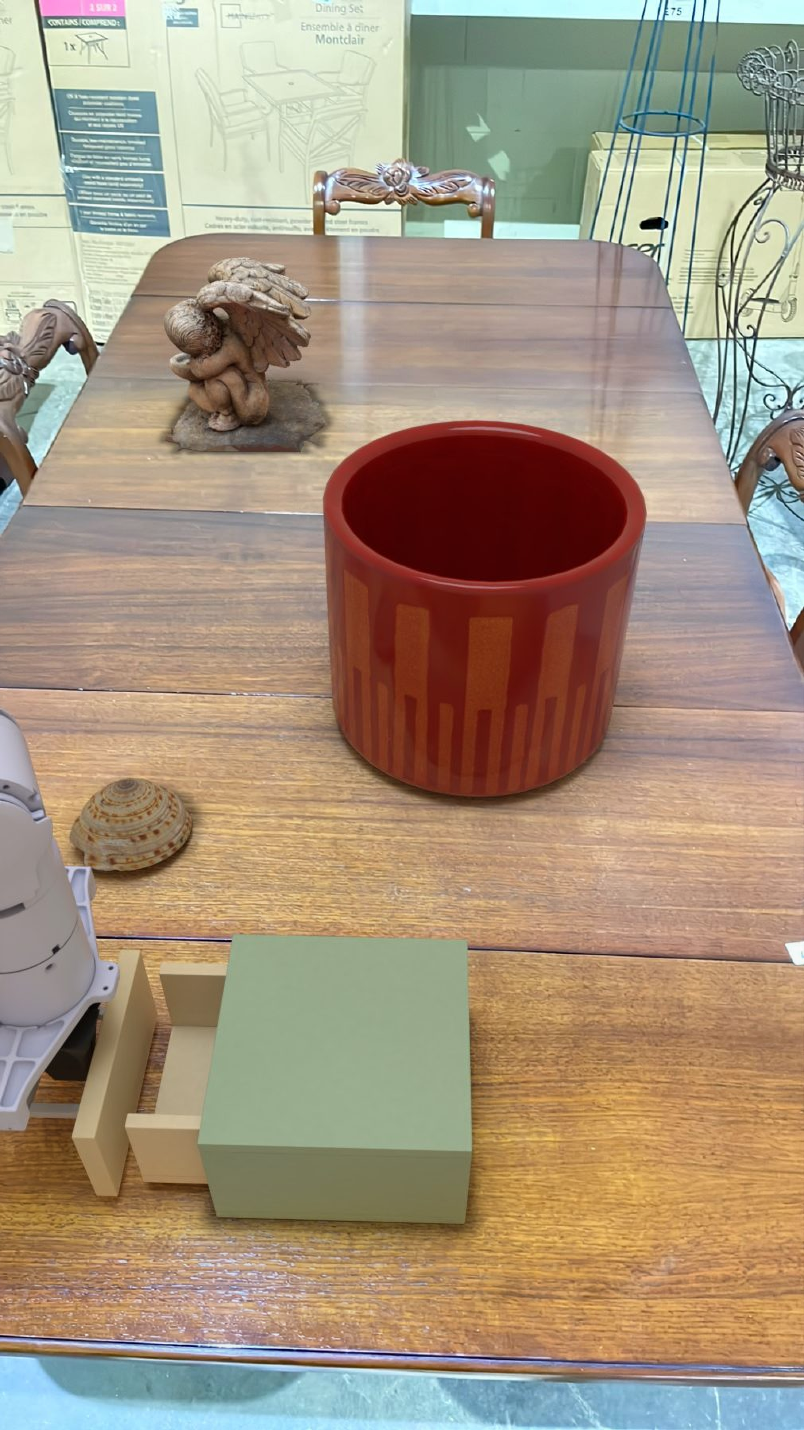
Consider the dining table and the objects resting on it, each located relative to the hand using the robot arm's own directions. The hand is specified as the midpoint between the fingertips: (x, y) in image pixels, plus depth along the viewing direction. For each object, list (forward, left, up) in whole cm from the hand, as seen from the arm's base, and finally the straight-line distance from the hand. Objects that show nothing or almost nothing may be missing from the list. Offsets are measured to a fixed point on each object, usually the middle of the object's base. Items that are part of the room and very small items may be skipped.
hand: (73, 1069), depth 61 cm
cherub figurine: (-2, +87, -4) cm, 87 cm away
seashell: (-2, +21, -4) cm, 21 cm away
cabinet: (+15, 0, -4) cm, 16 cm away
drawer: (+6, 0, -3) cm, 7 cm away
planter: (+23, +36, -4) cm, 43 cm away
